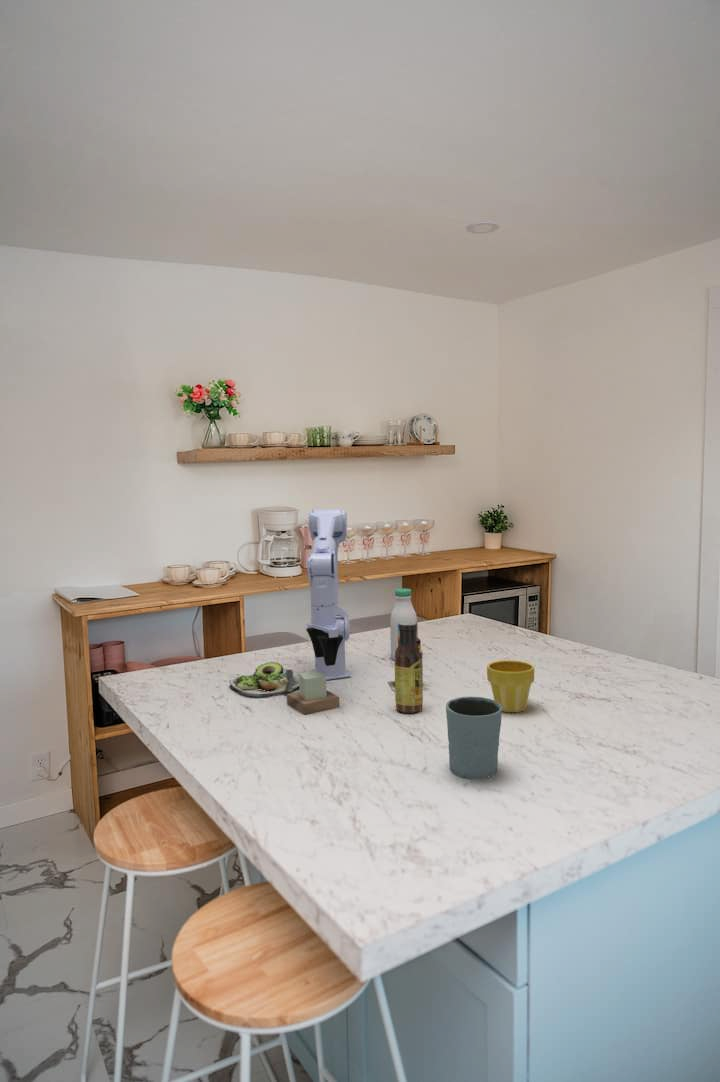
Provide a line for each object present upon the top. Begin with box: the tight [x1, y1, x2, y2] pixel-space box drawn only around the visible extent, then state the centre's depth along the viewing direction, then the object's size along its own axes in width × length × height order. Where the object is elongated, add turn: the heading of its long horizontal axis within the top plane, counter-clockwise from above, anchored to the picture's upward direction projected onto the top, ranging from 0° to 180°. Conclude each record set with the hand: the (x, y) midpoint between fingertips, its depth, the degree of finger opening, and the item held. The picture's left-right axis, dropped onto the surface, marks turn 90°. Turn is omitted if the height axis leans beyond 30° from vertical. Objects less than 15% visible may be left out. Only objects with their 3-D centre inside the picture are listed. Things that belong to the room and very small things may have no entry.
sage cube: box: [298, 671, 327, 700], centre depth 168 cm, size 5×5×5 cm
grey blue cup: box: [445, 696, 503, 779], centre depth 131 cm, size 10×10×12 cm
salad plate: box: [229, 661, 299, 698], centre depth 183 cm, size 19×18×5 cm
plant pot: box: [486, 659, 535, 714], centre depth 163 cm, size 10×10×10 cm
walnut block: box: [286, 689, 341, 716], centre depth 169 cm, size 9×9×3 cm
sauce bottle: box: [394, 622, 424, 714], centre depth 163 cm, size 7×6×20 cm
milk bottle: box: [389, 588, 419, 661], centre depth 206 cm, size 8×8×20 cm
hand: (325, 660), depth 171 cm, fingers open, 7 cm apart
